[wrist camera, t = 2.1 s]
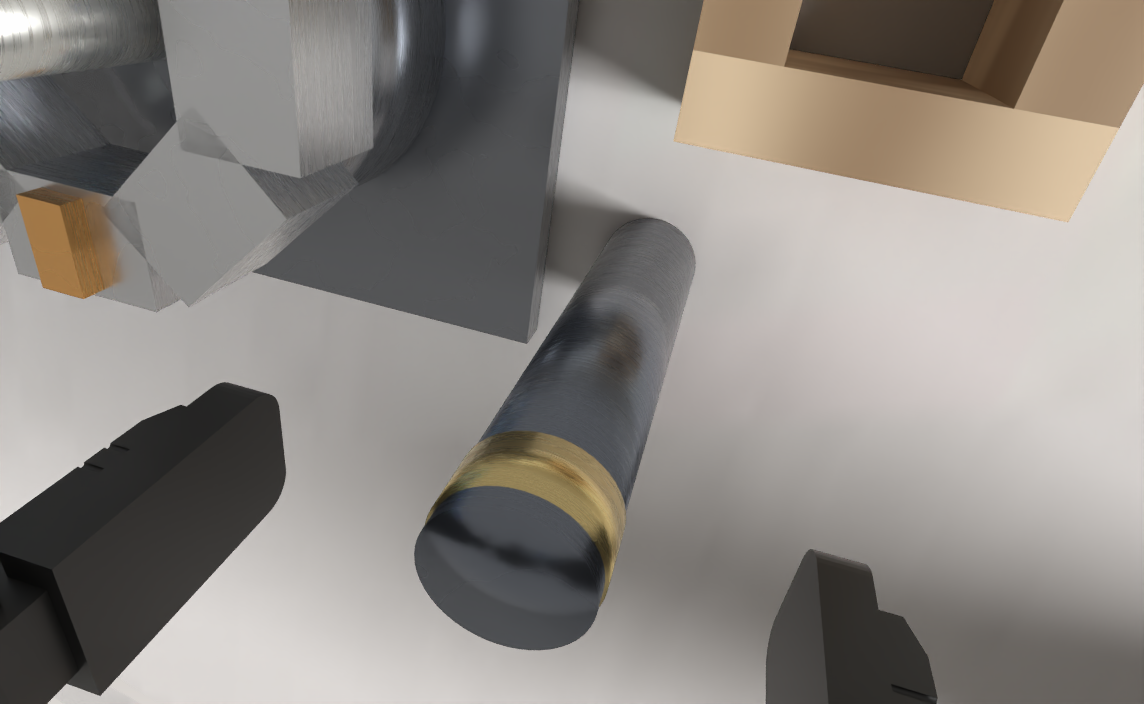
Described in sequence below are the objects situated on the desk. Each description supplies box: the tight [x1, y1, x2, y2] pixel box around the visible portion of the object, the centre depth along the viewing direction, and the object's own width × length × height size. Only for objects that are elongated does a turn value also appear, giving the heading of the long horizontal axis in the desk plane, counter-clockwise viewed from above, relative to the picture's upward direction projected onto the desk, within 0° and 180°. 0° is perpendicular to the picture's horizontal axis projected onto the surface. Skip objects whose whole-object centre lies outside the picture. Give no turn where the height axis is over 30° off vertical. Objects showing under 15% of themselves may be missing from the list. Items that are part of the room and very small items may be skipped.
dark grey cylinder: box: [414, 219, 695, 650], centre depth 14 cm, size 3×3×12 cm
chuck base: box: [0, 0, 579, 344], centre depth 14 cm, size 16×16×10 cm
